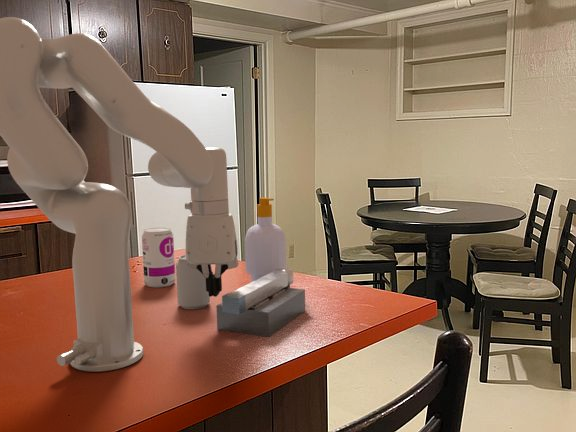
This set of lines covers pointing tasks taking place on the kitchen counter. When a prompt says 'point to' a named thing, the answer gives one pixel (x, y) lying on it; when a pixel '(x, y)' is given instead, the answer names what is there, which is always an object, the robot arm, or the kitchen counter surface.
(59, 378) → the kitchen counter surface
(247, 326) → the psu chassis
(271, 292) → the bar
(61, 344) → the kitchen counter surface
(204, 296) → the can
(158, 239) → the supplement can
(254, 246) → the soap bottle
